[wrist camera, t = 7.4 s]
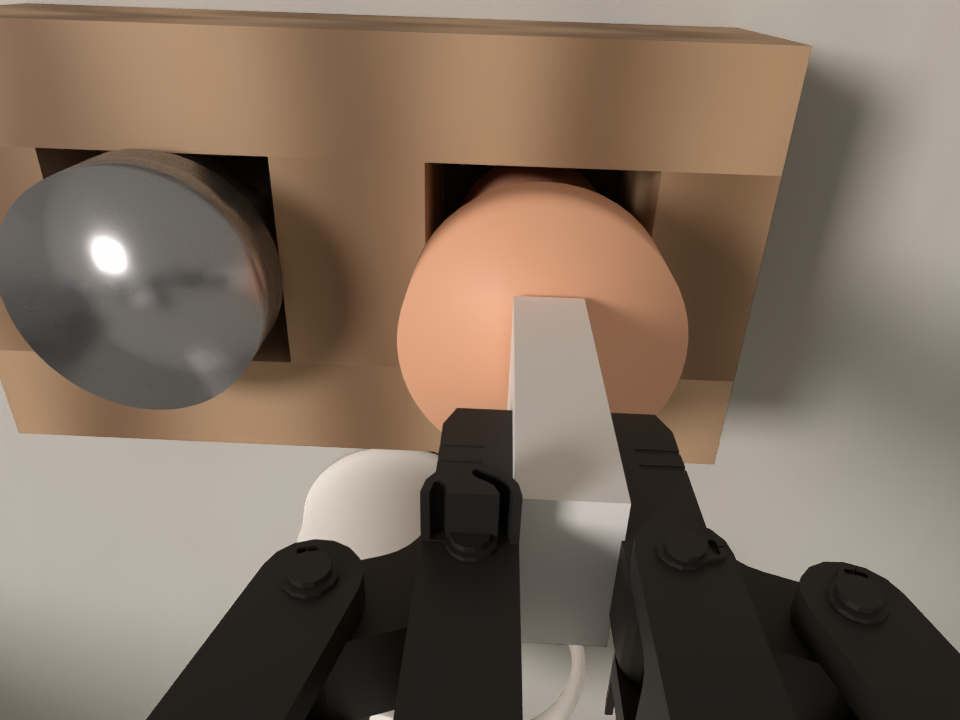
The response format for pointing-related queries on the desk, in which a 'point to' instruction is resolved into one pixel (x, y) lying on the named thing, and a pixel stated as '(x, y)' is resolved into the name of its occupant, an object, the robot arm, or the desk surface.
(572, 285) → the peach ball
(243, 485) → the desk surface
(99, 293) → the ball grey
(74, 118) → the block
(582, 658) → the mug
